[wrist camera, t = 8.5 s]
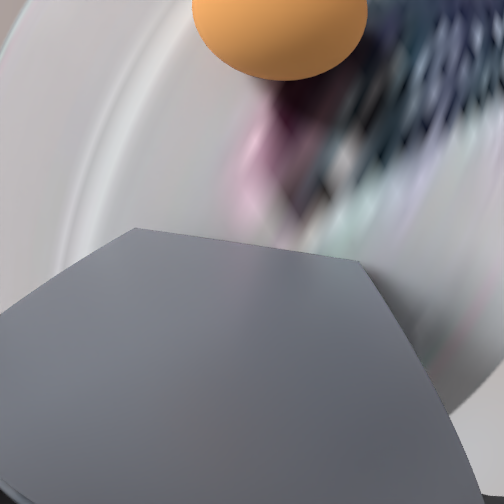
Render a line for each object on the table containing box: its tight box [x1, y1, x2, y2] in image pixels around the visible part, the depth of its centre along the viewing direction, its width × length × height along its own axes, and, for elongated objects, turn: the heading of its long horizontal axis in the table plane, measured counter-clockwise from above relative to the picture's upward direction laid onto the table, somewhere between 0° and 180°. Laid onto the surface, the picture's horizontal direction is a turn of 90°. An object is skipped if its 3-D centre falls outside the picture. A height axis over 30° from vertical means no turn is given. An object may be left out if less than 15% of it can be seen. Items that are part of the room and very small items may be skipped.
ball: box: [192, 0, 367, 81], centre depth 6 cm, size 5×5×5 cm
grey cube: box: [0, 228, 485, 504], centre depth 7 cm, size 8×8×9 cm
